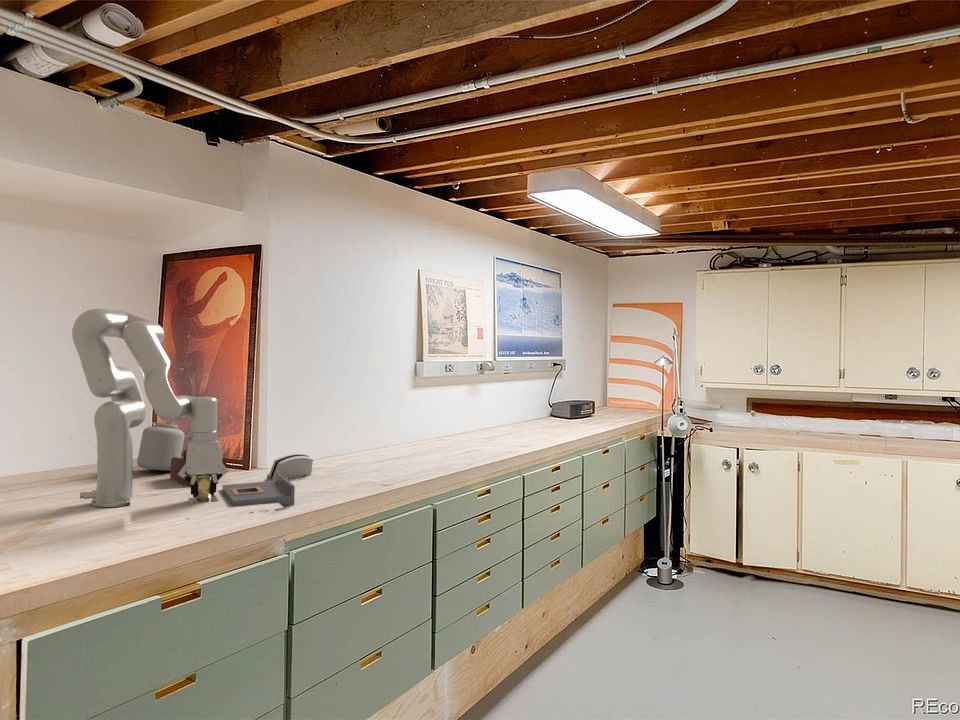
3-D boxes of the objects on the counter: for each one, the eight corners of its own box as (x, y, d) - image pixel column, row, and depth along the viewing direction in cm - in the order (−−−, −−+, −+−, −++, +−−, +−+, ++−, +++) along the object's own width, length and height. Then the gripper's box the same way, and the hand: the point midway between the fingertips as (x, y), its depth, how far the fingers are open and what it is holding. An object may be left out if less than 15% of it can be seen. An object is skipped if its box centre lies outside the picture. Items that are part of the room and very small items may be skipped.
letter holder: (197, 475, 246) (198, 438, 245) (218, 484, 231) (218, 444, 231) (169, 479, 239) (170, 440, 238) (189, 488, 224) (189, 447, 224)
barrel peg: (196, 501, 199) (196, 479, 199) (194, 498, 203) (195, 476, 203) (212, 500, 201) (212, 477, 201) (210, 497, 205) (210, 475, 205)
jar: (169, 465, 264) (170, 403, 263) (196, 468, 258) (197, 405, 258) (127, 473, 247) (128, 407, 246) (156, 477, 241) (156, 409, 240)
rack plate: (233, 511, 195) (233, 491, 195) (222, 494, 216) (222, 476, 216) (294, 504, 204) (294, 485, 203) (278, 489, 225) (278, 471, 224)
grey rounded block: (303, 472, 254) (309, 449, 252) (310, 478, 251) (316, 455, 249) (265, 478, 241) (271, 454, 239) (272, 484, 239) (278, 460, 236)
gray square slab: (190, 508, 197) (190, 503, 196) (188, 502, 204) (188, 498, 203) (218, 506, 200) (218, 501, 200) (215, 500, 207) (215, 495, 207)
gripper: (174, 440, 194) (174, 501, 195) (234, 437, 202) (234, 495, 203) (173, 436, 201) (172, 495, 201) (231, 434, 209) (230, 490, 209)
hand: (203, 495), depth 202 cm, fingers closed on barrel peg, 4 cm apart
